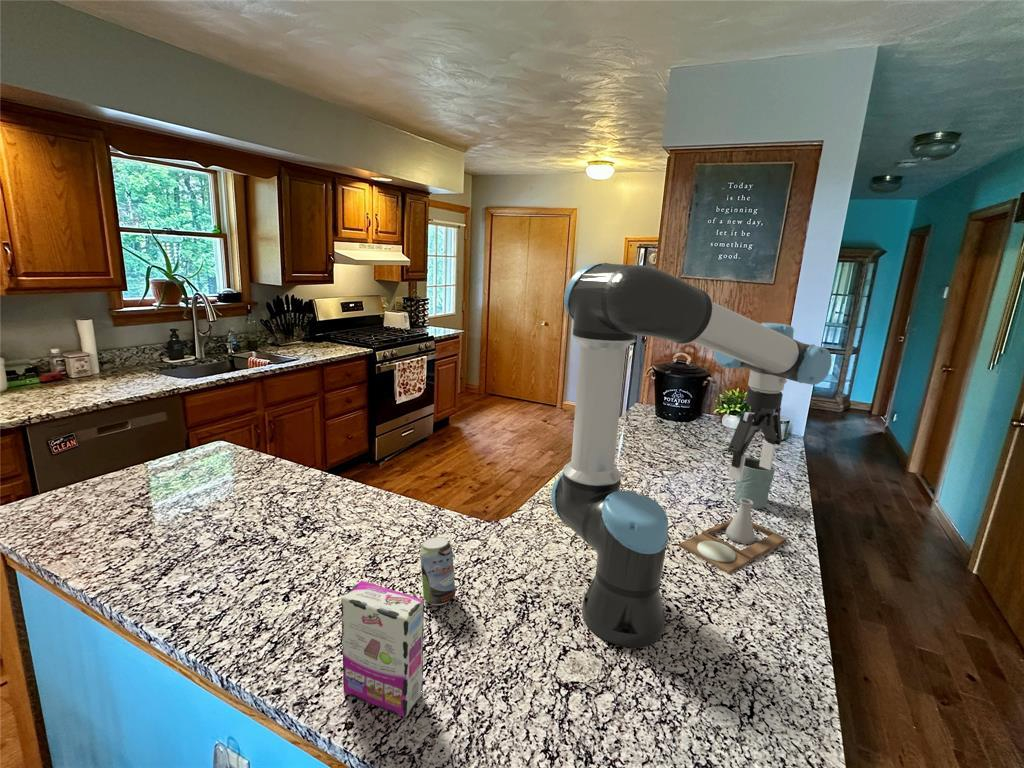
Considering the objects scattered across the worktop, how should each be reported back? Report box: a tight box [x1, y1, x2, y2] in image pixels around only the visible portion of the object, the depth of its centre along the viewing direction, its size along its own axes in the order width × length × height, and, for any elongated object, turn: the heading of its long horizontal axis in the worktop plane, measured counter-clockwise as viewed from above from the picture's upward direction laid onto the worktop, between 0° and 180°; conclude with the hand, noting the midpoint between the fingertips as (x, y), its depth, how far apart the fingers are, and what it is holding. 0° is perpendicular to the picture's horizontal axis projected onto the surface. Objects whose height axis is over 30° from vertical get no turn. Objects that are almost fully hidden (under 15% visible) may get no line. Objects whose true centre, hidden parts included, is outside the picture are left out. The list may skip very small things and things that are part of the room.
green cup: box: [733, 457, 776, 510], centre depth 145 cm, size 10×10×12 cm
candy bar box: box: [340, 580, 425, 719], centre depth 73 cm, size 11×5×16 cm, turn 69°
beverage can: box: [419, 536, 456, 606], centre depth 95 cm, size 6×7×12 cm
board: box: [678, 517, 788, 574], centre depth 123 cm, size 26×13×1 cm, turn 126°
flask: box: [724, 498, 756, 545], centre depth 125 cm, size 7×7×10 cm
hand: (750, 473), depth 122 cm, fingers open, 13 cm apart
